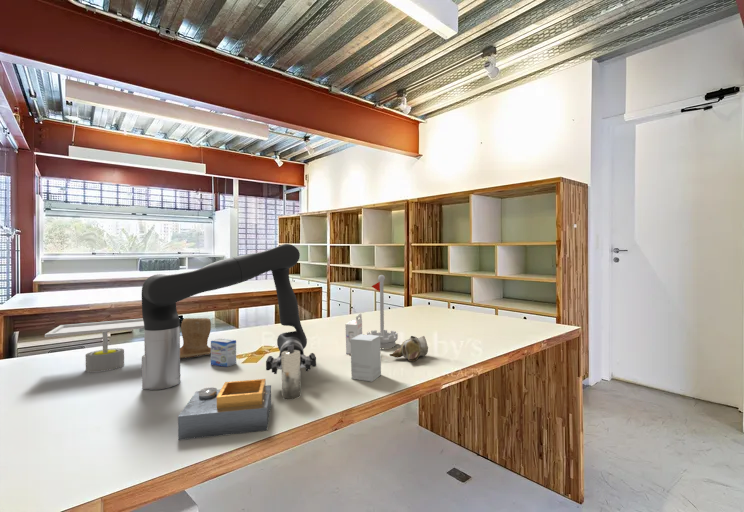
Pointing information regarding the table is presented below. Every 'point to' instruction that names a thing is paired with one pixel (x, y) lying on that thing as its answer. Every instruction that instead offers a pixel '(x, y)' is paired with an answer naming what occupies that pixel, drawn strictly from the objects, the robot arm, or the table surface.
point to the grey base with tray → (226, 410)
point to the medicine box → (223, 352)
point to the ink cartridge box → (353, 331)
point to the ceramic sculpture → (412, 348)
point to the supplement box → (365, 357)
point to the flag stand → (385, 338)
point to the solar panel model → (105, 357)
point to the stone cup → (195, 337)
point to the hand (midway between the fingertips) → (291, 369)
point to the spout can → (291, 373)
